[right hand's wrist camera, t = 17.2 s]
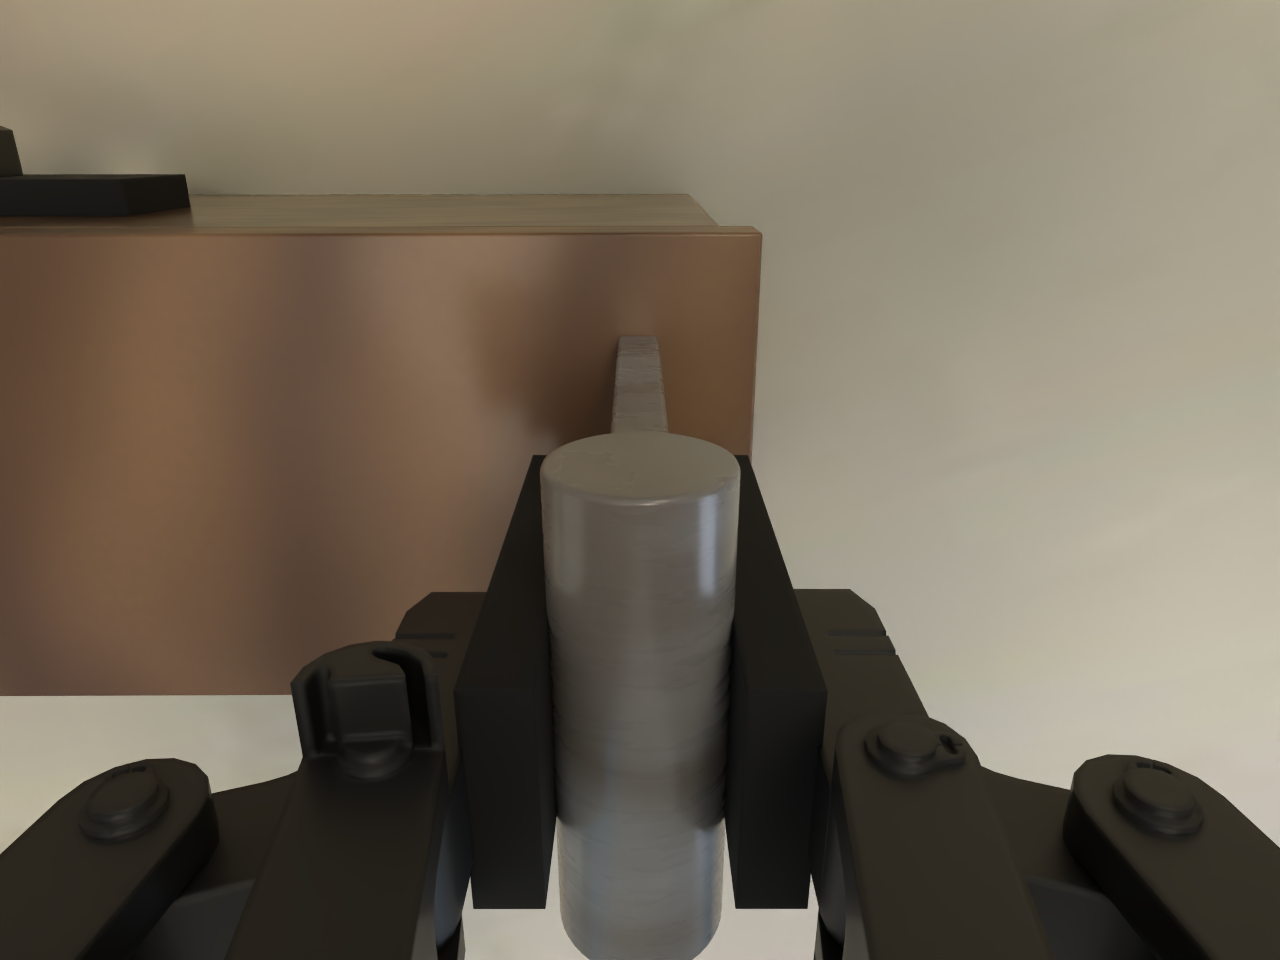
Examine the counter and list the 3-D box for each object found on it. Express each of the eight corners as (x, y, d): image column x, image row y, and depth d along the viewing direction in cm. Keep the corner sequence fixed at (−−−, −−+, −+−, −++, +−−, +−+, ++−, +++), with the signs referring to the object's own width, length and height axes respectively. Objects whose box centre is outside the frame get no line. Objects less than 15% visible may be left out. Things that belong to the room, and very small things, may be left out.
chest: (689, 193, 25) (720, 225, 16) (684, 491, 29) (706, 662, 19) (154, 195, 25) (-131, 227, 16) (212, 492, 29) (6, 664, 19)
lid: (753, 226, 16) (889, 325, 7) (734, 662, 19) (811, 1070, 11) (-133, 227, 16) (-1019, 329, 7) (5, 664, 19) (-491, 1078, 11)
